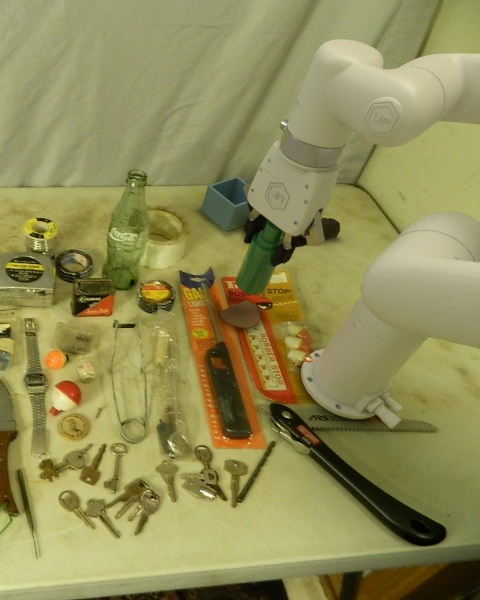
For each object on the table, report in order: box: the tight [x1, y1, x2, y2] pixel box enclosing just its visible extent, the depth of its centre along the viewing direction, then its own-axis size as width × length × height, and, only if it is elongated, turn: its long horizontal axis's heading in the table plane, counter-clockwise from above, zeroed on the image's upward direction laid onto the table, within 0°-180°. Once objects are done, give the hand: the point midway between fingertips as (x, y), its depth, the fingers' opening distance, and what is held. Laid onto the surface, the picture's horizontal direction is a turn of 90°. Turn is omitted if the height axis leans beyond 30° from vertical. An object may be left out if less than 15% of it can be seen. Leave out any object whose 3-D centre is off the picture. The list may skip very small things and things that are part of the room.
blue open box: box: [200, 175, 250, 233], centre depth 108 cm, size 8×8×6 cm
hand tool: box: [244, 216, 341, 240], centre depth 105 cm, size 19×4×5 cm, turn 88°
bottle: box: [234, 220, 284, 296], centre depth 82 cm, size 5×5×12 cm
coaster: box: [218, 299, 261, 330], centre depth 91 cm, size 7×7×1 cm
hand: (265, 250), depth 81 cm, fingers closed on bottle, 5 cm apart
